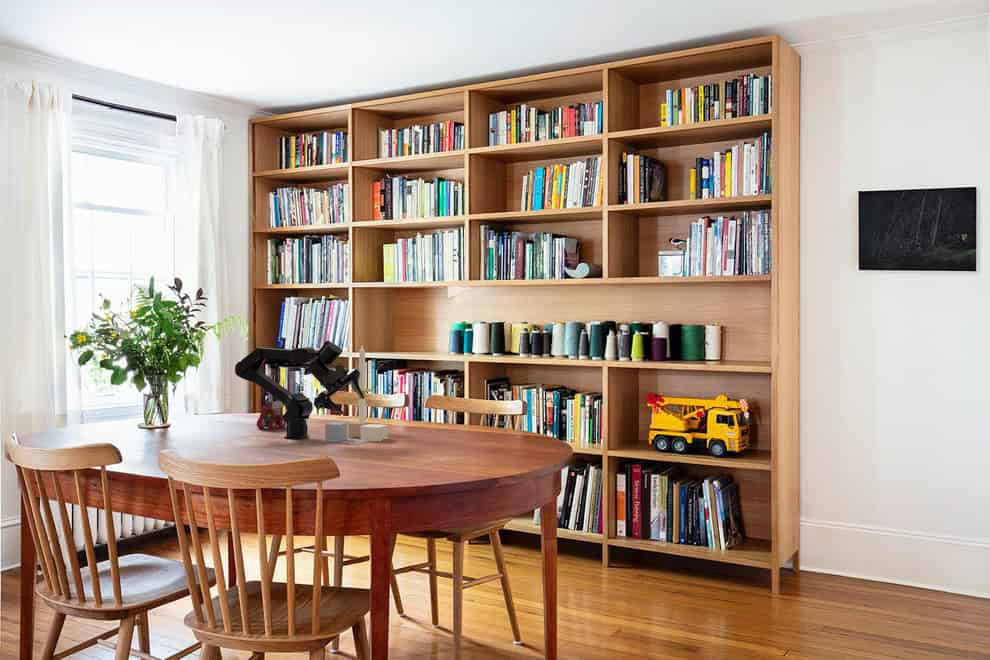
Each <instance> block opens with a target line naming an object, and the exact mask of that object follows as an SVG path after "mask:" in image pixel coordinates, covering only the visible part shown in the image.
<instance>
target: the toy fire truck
mask: <svg viewBox="0 0 990 660" xmlns="http://www.w3.org/2000/svg"><path fill="white" fill-rule="evenodd" d="M284 407H285V406H284V404H283V403H282V402H281V401H279V400H278V399H277V400H273V401H266V402H265V403H264V406H263V407H262V408H261V412H260V414H259V418H258V419H257V421H256V426H257V428H258V429H261V430H262V429H264V428H268V429H269V430H271V431H272V430H273V431H274V430H276V429H277V427H278V428H280V429H283V428H285V427H287V422H286V421H284V419H283V415H284Z"/></svg>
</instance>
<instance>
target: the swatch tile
mask: <svg viewBox="0 0 990 660" xmlns="http://www.w3.org/2000/svg"><path fill="white" fill-rule="evenodd" d="M346 443H347V444H348V443H349V444H350V445H361V444H365V443H368V441H367V440H361V439H353V438H351V439H350V440H348V439H347V440H345V441H342V442H341V444H346ZM347 444H346V445H347ZM349 444H348V445H349Z"/></svg>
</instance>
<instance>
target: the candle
mask: <svg viewBox="0 0 990 660" xmlns="http://www.w3.org/2000/svg"><path fill="white" fill-rule="evenodd" d="M358 351H359V355H358V356H359V358H358V359H359V360H358V361H359V362H358V364H359V366H358V368H359V369H358V370H359V371H360V378H359V381H358V384H359V387H360V389H361V391H362V394H363V396H364V399H362V398H361V397H360V396H359V395H358V422H365V425H367V424H366V414H367V413H366V407H367V406H366V405H367V404H366V399H367V398H366V396H367V395H366V394H367V393H369V392H374V389H373V388H366V349H364V346H363V344H361V348H360V349H359V350H358ZM350 392H354V393H356V392H355V391H354V390H353V389H352V388H351V389H350Z"/></svg>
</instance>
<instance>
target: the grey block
mask: <svg viewBox="0 0 990 660" xmlns="http://www.w3.org/2000/svg"><path fill="white" fill-rule="evenodd" d="M324 427H325V428H324V432H325V433H324V441H325V442H327V443H328V442H332V443H342V442H345V441H348V423H347V422H337V421H333V422H328V423H325V424H324Z"/></svg>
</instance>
